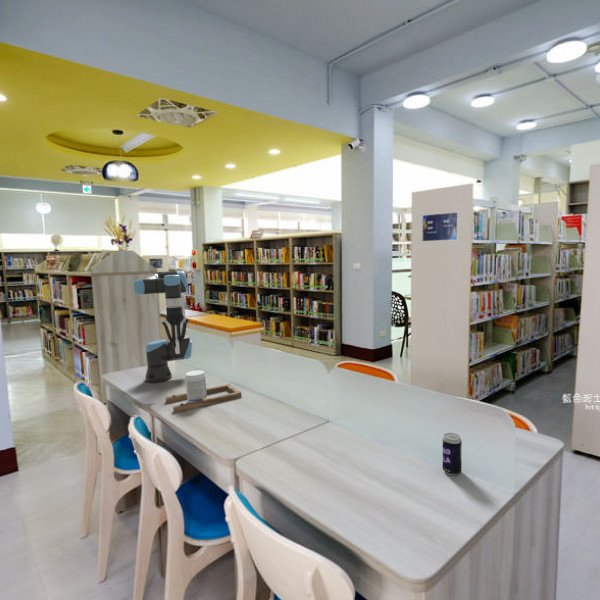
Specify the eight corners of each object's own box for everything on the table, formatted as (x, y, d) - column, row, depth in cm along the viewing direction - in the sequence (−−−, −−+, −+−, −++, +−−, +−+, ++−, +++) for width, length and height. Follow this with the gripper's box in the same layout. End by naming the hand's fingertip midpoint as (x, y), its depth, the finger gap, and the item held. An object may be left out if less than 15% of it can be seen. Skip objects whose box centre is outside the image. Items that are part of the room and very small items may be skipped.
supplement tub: (210, 400, 200) (208, 372, 198) (193, 406, 193) (191, 377, 192) (200, 396, 207) (198, 368, 205) (183, 401, 200) (181, 373, 198)
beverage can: (446, 465, 131) (446, 430, 130) (463, 470, 128) (464, 435, 127) (439, 472, 127) (440, 437, 126) (458, 478, 124) (458, 442, 122)
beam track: (165, 402, 200) (165, 396, 200) (229, 388, 218) (228, 382, 218) (174, 412, 186) (174, 406, 186) (241, 396, 204) (241, 391, 203)
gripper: (161, 308, 188) (165, 357, 191) (189, 305, 194) (192, 352, 197) (158, 307, 194) (162, 353, 197) (185, 304, 201) (188, 349, 204)
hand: (177, 353), depth 197 cm, fingers closed
